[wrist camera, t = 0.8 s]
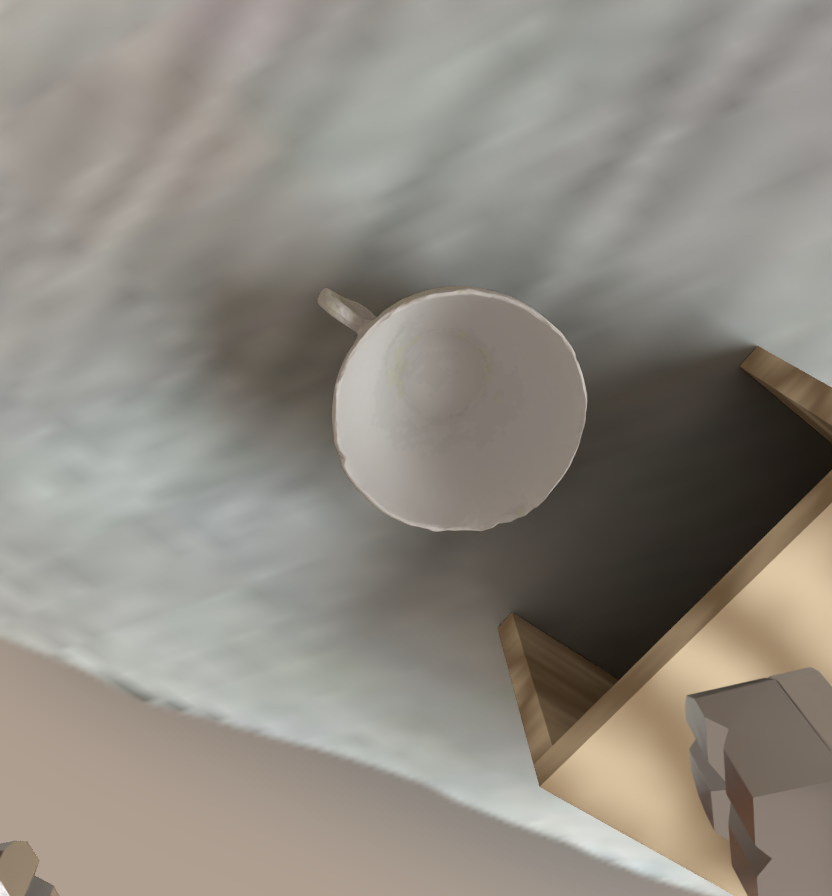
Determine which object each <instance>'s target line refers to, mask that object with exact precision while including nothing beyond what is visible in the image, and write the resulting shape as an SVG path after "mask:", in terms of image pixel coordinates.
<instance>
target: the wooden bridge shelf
mask: <svg viewBox="0 0 832 896" xmlns="http://www.w3.org/2000/svg"><path fill="white" fill-rule="evenodd" d="M740 367H741V368H742V369H744V370H745V371H746V372H747V373H748V374H750V375H751V376H752V377H753V378H754V379H755V380H757V381H758V382H759V383H760V384H761V385H763V386H764V387H765V388H766V389H767V390H769V391H770V392H771V393H772V394H773V395H775V396H776V397H777V398H778V399H779V400H780V401H782V402H783V403H784V404H785V405H786V406H788V407H789V408H790V409H791V410H792V411H794V412H795V413H796V414H797V415H798V416H800V417H801V418H802V419H803V420H804V421H805V422H807V423H808V424H809V425H810V426H811V427H813V428H814V429H815V430H816V431H817V432H819V433H820V434H821V435H822V436H823V437H825V438H826V439H827V440H828V441H829V442H830V443H832V388H831V387H830V386H828V385H826V384H824V383H823V382H821V381H819V380H817V379H815V378H814V377H812V376H810V375H808V374H807V373H805V372H803V371H801V370H799V369H798V368H796V367H794V366H792V365H791V364H789V363H787V362H785V361H784V360H782V359H780V358H778V357H776V356H775V355H773V354H771V353H769V352H768V351H766V350H764V349H762V348H760V347H759V346H757V347H756V349H755V350H754V351H753V352H752V353H751V354H750V355H749V356H748V357H747V358H746V359H745V360H744V362H743V363H742V364H741V365H740ZM498 631H499V635H500V639H501V643H502V646H503V650H504V654H505V658H506V662H507V665H508V669H509V673H510V677H511V680H512V684H513V688H514V692H515V696H516V699H517V703H518V707H519V711H520V714H521V718H522V722H523V726H524V730H525V733H526V737H527V741H528V745H529V749H530V752H531V756H532V760H533V764H534V767H535V771H536V775H537V779H538V783H539V786H540V787H541V788H543V789H544V790H546V791H548V792H550V793H552V794H553V795H555V796H557V797H559V798H561V799H562V800H564V801H566V802H568V803H570V804H571V805H573V806H575V807H577V808H579V809H580V810H582V811H584V812H586V813H587V814H589V815H591V816H593V817H595V818H596V819H598V820H600V821H602V822H604V823H605V824H607V825H609V826H611V827H613V828H614V829H616V830H618V831H620V832H622V833H623V834H625V835H627V836H629V837H630V838H632V839H634V840H636V841H638V842H639V843H641V844H643V845H645V846H647V847H648V848H650V849H652V850H654V851H656V852H657V853H659V854H661V855H663V856H665V857H666V858H668V859H670V860H672V861H673V862H675V863H677V864H679V865H681V866H682V867H684V868H686V869H688V870H690V871H691V872H693V873H695V874H697V875H699V876H700V877H702V878H704V879H706V880H708V881H709V882H711V883H713V884H715V885H716V886H718V887H720V888H722V889H724V890H725V891H727V892H729V893H731V894H733V895H734V896H747V894H746V892H745V890H744V888H743V886H742V884H741V882H740V880H739V878H738V877H737V875H736V873H735V871H734V869H733V867H732V863H731V851H730V841H729V840H727V839H726V838H724V837H722V836H721V835H719V834H718V833H716V832H715V831H714V829H713V827H712V825H711V823H710V821H709V819H708V817H707V815H706V813H705V811H704V808H703V806H702V803H701V801H700V798H699V796H698V793H697V789H696V785H695V782H694V778H693V774H692V770H691V762H690V754H689V748H690V747H691V745H692V744H693V742H694V741H695V739H696V738H695V736H694V735H693V733H692V731H691V729H690V727H689V725H688V723H687V722H686V713H685V701H686V696H687V695H690V694H695V693H699V692H703V691H708V690H712V689H717V688H721V687H726V686H730V685H734V684H739V683H743V682H748V681H752V680H757V679H761V678H768V677H769V676H773V675H777V674H782V673H786V672H790V671H795V670H799V669H803V668H808V667H812V668H814V669H816V670H818V671H820V673H821V674H822V675H823V676H824V677H825V678H826V680H827V681H828V682H829V683H830V684H831V685H832V470H831V471H830V472H829V473H828V474H827V475H826V476H825V477H824V478H823V479H822V480H821V481H820V482H819V483H818V484H817V485H816V486H815V487H814V488H813V489H812V490H811V491H810V492H809V493H808V494H807V495H806V496H805V497H804V498H803V499H802V500H801V501H800V502H799V503H798V504H797V505H796V506H795V507H794V508H793V509H792V510H791V511H790V512H789V513H788V514H787V515H786V516H785V517H784V518H783V519H782V520H781V521H780V522H779V523H778V524H777V525H776V526H775V527H774V528H773V529H772V530H771V531H770V532H769V533H767V534H766V535H765V536H764V537H763V538H762V539H761V540H760V541H759V542H758V543H757V544H756V545H755V546H754V547H753V548H752V549H751V550H750V551H749V552H748V553H747V554H746V555H745V556H744V557H743V558H742V559H741V560H740V561H739V562H738V563H737V564H736V565H735V566H734V567H733V568H732V569H731V570H730V571H729V572H728V573H727V574H726V575H725V576H724V577H723V578H722V579H721V580H720V581H719V582H718V583H717V584H716V585H715V586H714V587H713V588H712V589H711V590H710V591H709V592H708V593H707V594H706V595H705V596H704V597H703V598H702V599H701V600H700V601H699V602H698V603H697V604H696V605H695V606H694V607H693V608H692V609H691V610H690V611H688V612H687V613H686V614H685V615H684V616H683V617H682V618H681V619H680V620H679V621H678V622H677V623H676V624H675V625H674V626H673V627H672V628H671V629H670V630H669V631H668V632H667V633H666V634H665V635H664V636H663V637H662V638H661V639H660V640H659V641H658V642H657V643H656V644H655V645H654V646H653V647H652V648H651V649H650V650H649V651H648V652H647V653H646V654H645V655H644V656H643V657H642V658H641V659H640V660H639V661H638V662H637V663H636V664H635V665H634V666H633V667H632V668H631V669H630V670H629V671H628V672H627V673H626V674H625V675H624V676H623V677H622V678H621V679H620V680H618V679H616V678H615V677H613V676H612V675H610V674H609V673H607V672H605V671H604V670H602V669H601V668H599V667H597V666H596V665H594V664H593V663H591V662H590V661H588V660H586V659H585V658H583V657H582V656H580V655H579V654H577V653H575V652H574V651H572V650H571V649H569V648H567V647H566V646H564V645H563V644H561V643H560V642H558V641H556V640H555V639H553V638H552V637H550V636H549V635H547V634H545V633H544V632H542V631H541V630H539V629H537V628H536V627H534V626H533V625H531V624H530V623H528V622H526V621H525V620H523V619H522V618H520V617H519V616H517V615H515V614H514V613H511V614H510V615H509V616H508V617H507V618H506V619H505V620H504V621H503V622H502V624H501V625H500V626H499V627H498Z"/></svg>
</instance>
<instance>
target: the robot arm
mask: <svg viewBox="0 0 832 896" xmlns="http://www.w3.org/2000/svg"><path fill="white" fill-rule="evenodd" d="M685 713H686V722H687V723H688V725H689V727H690V729H691V731H692V733H693V735H694V736H695V738H696V739H695V741H694V742H693V744H692V745H691V747H690V748H689V754H690V762H691V770H692V774H693V778H694V782H695V785H696V789H697V793H698V796H699V798H700V801H701V803H702V806H703V808H704V811H705V813H706V815H707V817H708V819H709V821H710V823H711V825H712V827H713V829H714V831H715V832H716V833H718V834H719V835H721V836H722V837H724V838H726V839H727V840H729V841H730V851H731V863H732V867H733V869H734V871H735V873H736V875H737V877H738V878H739V880H740V882H741V884H742V886H743V888H744V890H745V892H746V894H747V896H832V685H831V684H830V683H829V682H828V681H827V680H826V678H825V677H824V676H823V675H822V674H821V673H820V671H818V670H816V669H814V668H812V667H808V668H803V669H799V670H795V671H790V672H786V673H782V674H777V675H773V676H769V677H768V678H761V679H757V680H752V681H748V682H743V683H739V684H734V685H730V686H726V687H721V688H717V689H712V690H708V691H703V692H699V693H695V694H690V695H687V696H686V701H685ZM38 863H39V859H38V857H37V856H36V854H35V853H34V851H33V849H32V848H31V846H30V845H29V843H28V842H26V841H12V842H6V843H1V844H0V896H59V894H58V892H57V891H56V889H55V887H54V886H53V885H51V884H50V883H48V882H46V881H44V880H42V879H40V878H38V877H36V876H34V875H35V872H36V869H37V866H38Z"/></svg>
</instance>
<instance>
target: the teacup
mask: <svg viewBox="0 0 832 896" xmlns="http://www.w3.org/2000/svg"><path fill="white" fill-rule="evenodd" d="M318 304H319V305H320V306H321V307H322V308H323V309H324V310H325V311H326V312H328V313H329V314H330V315H331V316H333V317H334V318H335V319H336V320H338V321H339V322H341V323H342V324H344V325H345V326H347V327H349V328H350V329H352V330H353V331H355V332H356V333H357V338H356V341H355V342H354V344H353V345H352V347H351V348H350V350H349V351H348V353H347V355H346V357H345V359H344V361H343V363H342V365H341V368H340V370H339V373H338V376H337V380H336V384H335V388H334V394H333V403H332V425H333V435H334V445H335V446H336V448H337V452H338V453H339V456H340V458H341V465H342V468H343V470H344V472H345V473H346V475H347V476H348V478H349V479H350V481H351V482H352V483H353V485H354V486H355V487H356V488H357V489H358V490H359V491H360V492H361V493H362V494H363V495H364V496H365V497H366V498H367V499H368V500H369V501H370V502H371V503H372V504H373V505H374V506H375V507H376V508H378V509H379V510H380V511H382V512H383V513H385V514H386V515H388V516H390V517H392V518H394V519H396V520H398V521H401V522H403V523H405V524H408V525H410V526H417V527H421V528H425V529H429V530H431V531H435V532H438V531H446V530H451V531H458V530H472V531H483V530H486V529H490V528H493V527H494V526H496V525H497V524H500V523H507V522H511V521H513V520H515V519H517V518H519V517H523V516H525V515H527V514H528V513H529V512H530V511H531V510H532V509H534V508H537V507H538V506H539V505H540V504H541V503H542V502H543V501H544V500H545V499H546V498H547V496H548V494H549V493H550V492H551V491H552V490H553V488H554V487H555V486H556V485H557V484H558V482H559V481H560V480H561V479H562V477H563V476H564V474H565V473H566V471H567V470H568V468H569V467H570V464H571V462H572V460H573V458H574V456H575V454H576V452H577V449H578V446H579V444H580V439H581V435H582V432H583V428H584V425H585V421H586V409H587V393H586V387H585V382H584V378H583V374H582V371H581V368H580V366H579V363H578V361H577V359H576V355H575V352H574V350H573V348H572V346H571V345H570V344H569V343H568V341H567V340H566V338H565V337H564V335H563V334H562V332H560V331H559V330H558V329H557V328H556V327H555V326H554V325H553V324H551V323H550V322H549V321H548V320H547V319H546V318H545V317H543V316H542V315H541V314H540V313H539V312H537V311H536V310H534V309H533V308H531V307H530V306H528V305H527V304H525V303H523V302H521V301H519V300H517V299H515V298H513V297H510V296H508V295H505V294H503V293H499V292H496V291H492V290H488V289H484V288H478V287H469V286H450V287H440V288H434V289H430V290H426V291H423V292H420V293H416V294H414V295H411V296H408V297H406V298H404V299H402V300H400V301H398V302H397V303H395V304H393V305H392V306H390V307H389V308H387V309H386V310H384V311H383V312H382V313H381V314H380V315H379V316H378V317H377V316H375V315H374V314H373V313H372V312H371V311H370V310H368V309H367V308H366V307H364V306H363V305H361V304H360V303H357V302H355V301H352V300H349V299H347V298H344V297H342V296H340V295H339V294H337V293H335V292H333V291H331V290H330V289H328V288H324V289H323V290H322V291H321V292H320V294H319V297H318Z"/></svg>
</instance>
